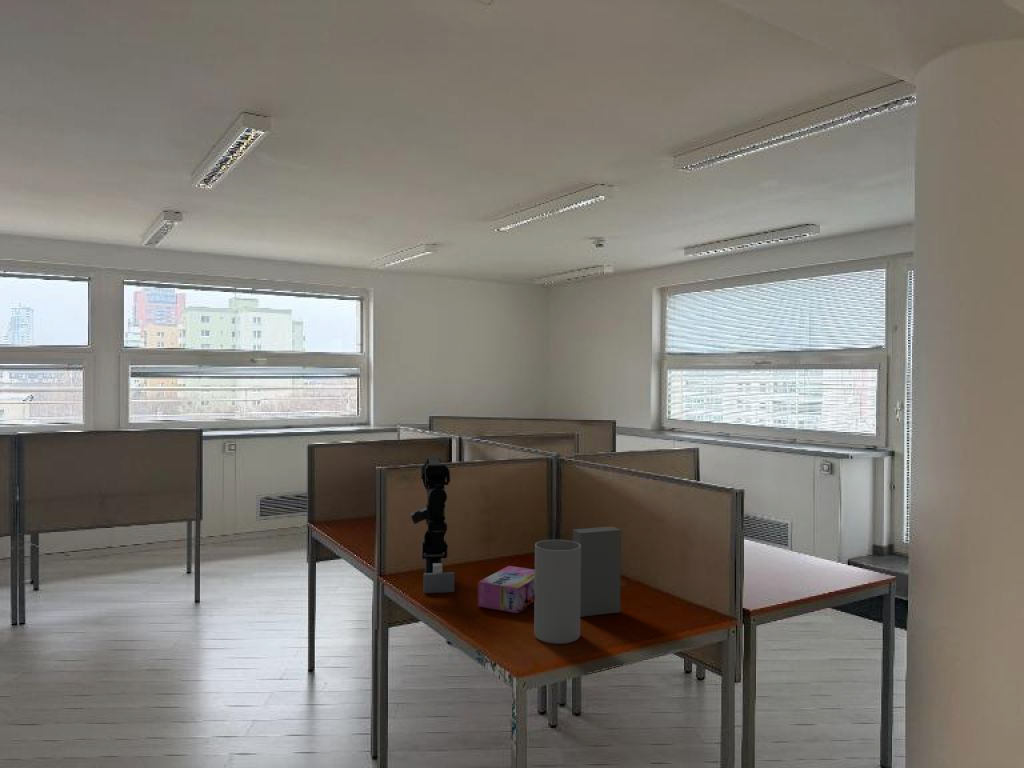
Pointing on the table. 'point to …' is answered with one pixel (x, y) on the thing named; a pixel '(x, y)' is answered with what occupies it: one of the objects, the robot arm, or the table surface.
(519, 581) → the gum box
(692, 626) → the table surface
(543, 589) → the cylinder vase
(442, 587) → the pusher
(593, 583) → the upright grey panel
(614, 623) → the table surface
